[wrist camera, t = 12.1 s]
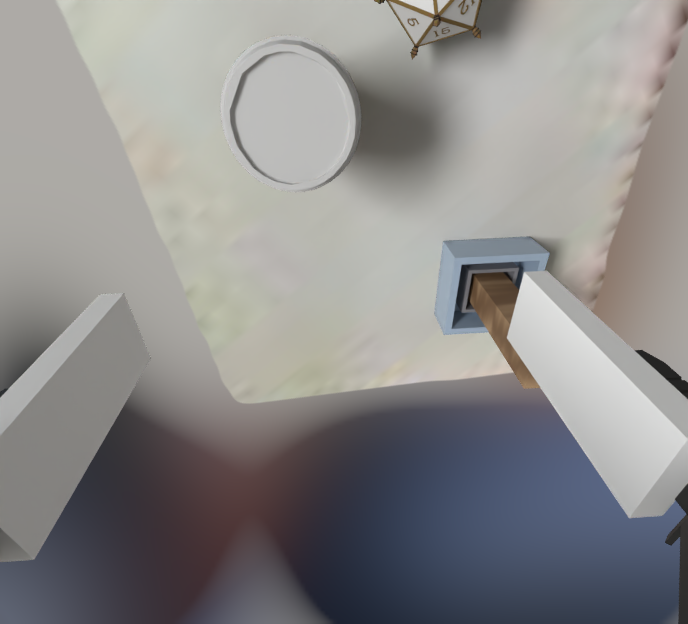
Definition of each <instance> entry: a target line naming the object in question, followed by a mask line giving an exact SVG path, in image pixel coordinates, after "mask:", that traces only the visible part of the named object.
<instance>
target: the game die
mask: <svg viewBox="0 0 688 624" xmlns="http://www.w3.org/2000/svg"><path fill="white" fill-rule="evenodd" d="M374 1H375V2H378V3H379V4H381V3H384V1H385V0H374ZM386 1H387V2H388V4H389V6H390V7H391V9H392V10H393V12H394V14H395V15H396V17H397V18H398V20H399V22H400V23H401V25H402V26H403V28H404V30H405V31H406V33H407V34H408V36H409V38H410V39H411V41H412V42H413V44H414V47H413V49H412V51H411V52H410V53H411V57H412V59H413V58H414V57H415V56H416V55H417V52H418V47H419V46H422V45H426V44H429V43H432V42H435V41H438V40H442V39H445V38H448V37H451V36H454V35H457V34H461V33H464V32H467V31H470V30H472V32H473V34H474V36H475V37H477V38H480V39H481V30H479V28H477V27H476V26H475V25H476V21H477V18H478V14H479V10H480V6H481V2H482V0H386Z"/></svg>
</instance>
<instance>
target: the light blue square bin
mask: <svg viewBox="0 0 688 624" xmlns="http://www.w3.org/2000/svg"><path fill="white" fill-rule="evenodd" d="M549 254H550V253H549V252H548V251H547V250H545V249H544V248H543V247H542V246H541V245H539V244H538V243H537V242H536V241H534V240H533V239H532V238H531V237H513V238H493V239H473V240H454V241H443V248H442V256H441V264H440V272H439V281H438V289H437V297H436V305H435V313H434V314H435V316H436V318H437V321H438V323H439V325H440V327H441V329H442V332H443V334H444V335H449V334H466V333H484V332H488V330H487V329H486V327H485V325H484V324H483V322H482V321H481V319H480V317H479V316H478V314H477V313H476V311H475V309H474V308H473V306H472V305H471V303H470V301H469V300H468V294H469V288H470V282H471V277H472V274H474V273H492V272H504V274H505V275H506V276H507V277H508V278H509V279H510V280H511V281H512V283H513V284H514V285H515V286H516V287H517V288H518V289H520V286H521V282H522V278H523V274H524V272H532V271H545V268H546V264H547V261H548V258H549Z"/></svg>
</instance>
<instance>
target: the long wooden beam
mask: <svg viewBox="0 0 688 624" xmlns="http://www.w3.org/2000/svg"><path fill="white" fill-rule="evenodd" d="M518 293H519V289H518V288H517V287H516V286H515V285H514V284H513V283H512V281H511V280H510V279H509V278H508V277H507V276H506V275H505V274H504V272H492V273H474V274H472V277H471V282H470V288H469V294H468V300H469V301H470V303H471V305H472V306H473V308H474V309H475V311H476V313H477V314H478V316H479V317H480V319H481V321H482V322H483V324H484V325H485V327H486V329H487V330H488V332H489V333H490V335H491V337H492V338H493V340H494V341H495V343H496V345H497V346H498V348H499V349H500V351H501V353H502V354H503V356H504V357H505V359H506V360H507V362H508V364H509V365H510V367H511V368H512V370H513V372H514V373H515V375H516V376H517V378H518V380H519V381H520V382H521V384H522V386H523V388H540V386H539V385H538V383H537V382H536V380H535V379H534V377H533V376H532V374H531V373H530V371H529V370H528V368H527V367H526V365H525V364H524V362H523V361H522V360H521V358H520V357H519V355H518V354H517V352H516V351H515V349H514V348H513V346H512V345H511V343H510V342H509V340H508V339H507V335H508V331H509V327H510V324H511V320H512V316H513V312H514V308H515V305H516V301H517V297H518Z"/></svg>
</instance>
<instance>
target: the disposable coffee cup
mask: <svg viewBox="0 0 688 624" xmlns="http://www.w3.org/2000/svg"><path fill="white" fill-rule="evenodd" d="M220 112H221V122H222V126H223V131H224V135H225V137H226V140H227V142H228V145H229V147H230V149H231V151H232V152H233V154H234V156H235V157H236V159H237V161H238V162H239V163H240V164H241V165H242V166H243V167H244V168H245V170H246V171H247V172H248V173H249V174H251V175H252V176H253V177H255V178H256V179H257V180H258V181H260V182H262V183H264V184H266V185H268V186H270V187H272V188H275V189H278V190H282V191H289V192H305V191H309V190H314V189H317V188H319V187H322V186H324V185H325V184H327V183H329V182H331V181H332V180H333V179H335V178H336V177H337V176H338V175H339V174H340V173H341V172H342V171H343V170H344V169H345V167H346V166H347V165H348V163H349V162H350V160H351V158H352V156H353V154H354V153H355V150H356V147H357V144H358V141H359V137H360V131H361V107H360V100H359V97H358V93H357V90H356V87H355V85H354V83H353V81H352V79H351V77H350V75H349V73H348V71H347V70H346V68H345V67H344V66H343V65H342V64H341V62H340V61H339V60H338V59H337V57H336V56H335V55H334V54H332V53H331V52H330V51H328V50H327V49H326V48H325V47H323V46H322V45H320V44H318V43H316V42H314V41H312V40H310V39H308V38H303V37H298V36H293V35H280V36H272V37H269V38H266V39H263V40H261V41H258V42H256V43H255V44H253V45H252V46H250V47H249V48H247V49H246V50H245V51H244V52H243V53H242V54H241V55H240V56H239V57H238V58H237V59H236V61H235V62H234V63H233V65H232V67H231V69H230V70H229V72H228V74H227V77H226V79H225V82H224V85H223V90H222V95H221V104H220Z"/></svg>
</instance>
